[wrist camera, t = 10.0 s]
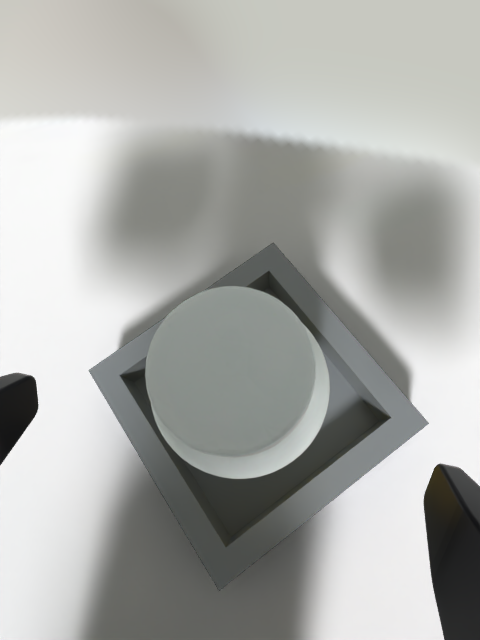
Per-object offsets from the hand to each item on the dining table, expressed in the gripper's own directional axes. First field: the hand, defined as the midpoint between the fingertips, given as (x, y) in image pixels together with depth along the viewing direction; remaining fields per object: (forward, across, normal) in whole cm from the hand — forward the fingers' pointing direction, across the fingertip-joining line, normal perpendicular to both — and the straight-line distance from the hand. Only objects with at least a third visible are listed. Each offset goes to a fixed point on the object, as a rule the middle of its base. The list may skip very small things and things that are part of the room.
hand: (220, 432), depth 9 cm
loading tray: (+9, 0, +5) cm, 10 cm away
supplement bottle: (+8, 0, +5) cm, 10 cm away
